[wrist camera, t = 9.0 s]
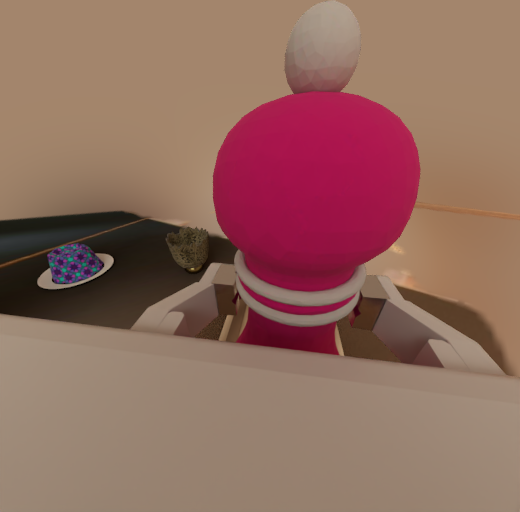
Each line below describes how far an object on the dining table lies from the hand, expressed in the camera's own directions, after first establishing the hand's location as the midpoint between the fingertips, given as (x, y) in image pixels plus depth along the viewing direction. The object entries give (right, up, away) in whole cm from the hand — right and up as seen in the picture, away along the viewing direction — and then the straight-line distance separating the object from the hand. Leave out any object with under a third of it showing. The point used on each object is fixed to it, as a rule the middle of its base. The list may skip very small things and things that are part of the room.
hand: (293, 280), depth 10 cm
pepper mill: (0, -10, +5) cm, 12 cm away
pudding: (-38, -2, +31) cm, 49 cm away
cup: (-15, -2, +31) cm, 35 cm away
